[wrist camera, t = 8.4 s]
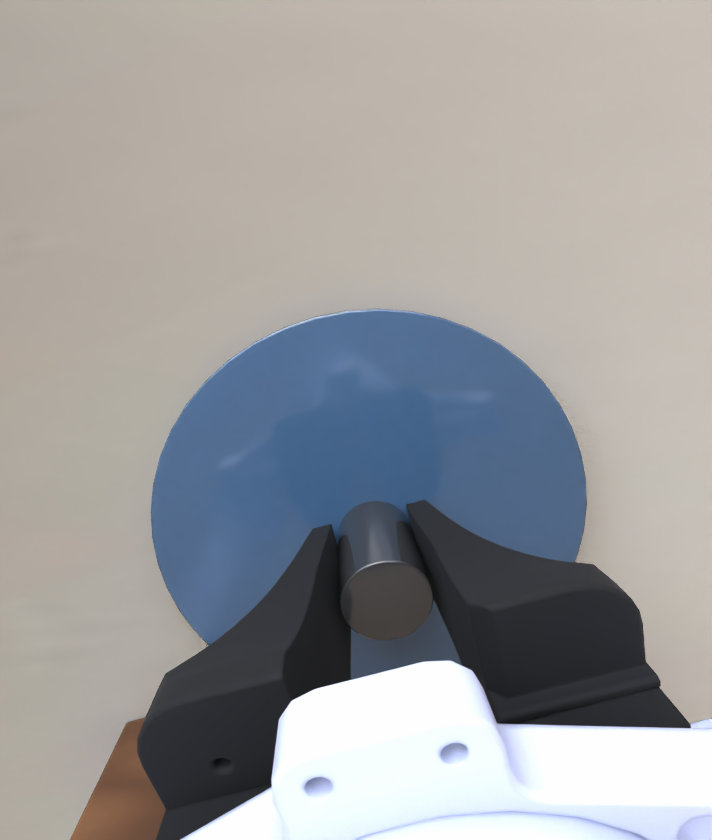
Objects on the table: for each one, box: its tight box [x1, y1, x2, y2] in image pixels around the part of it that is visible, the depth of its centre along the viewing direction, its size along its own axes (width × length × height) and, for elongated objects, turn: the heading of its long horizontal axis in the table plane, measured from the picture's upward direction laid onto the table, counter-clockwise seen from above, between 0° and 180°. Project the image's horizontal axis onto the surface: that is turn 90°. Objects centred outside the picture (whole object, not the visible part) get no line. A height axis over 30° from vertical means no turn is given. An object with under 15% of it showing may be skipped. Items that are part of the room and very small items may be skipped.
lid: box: [151, 309, 587, 680], centre depth 13 cm, size 14×14×4 cm
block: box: [70, 718, 166, 840], centre depth 14 cm, size 4×4×6 cm
